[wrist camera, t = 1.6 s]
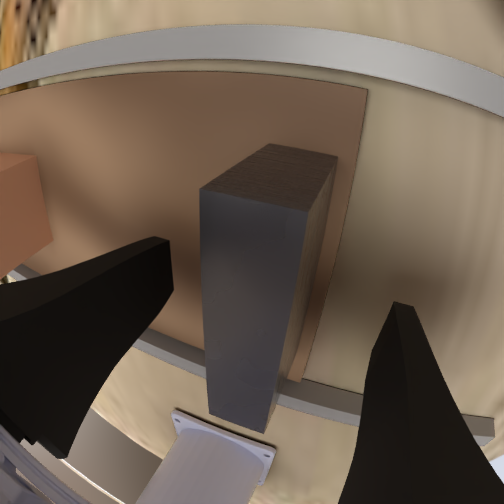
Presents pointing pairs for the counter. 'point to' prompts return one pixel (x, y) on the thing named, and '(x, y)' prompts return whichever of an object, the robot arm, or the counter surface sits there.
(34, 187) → the cube
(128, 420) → the counter surface
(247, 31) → the lane rails
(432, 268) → the counter surface
